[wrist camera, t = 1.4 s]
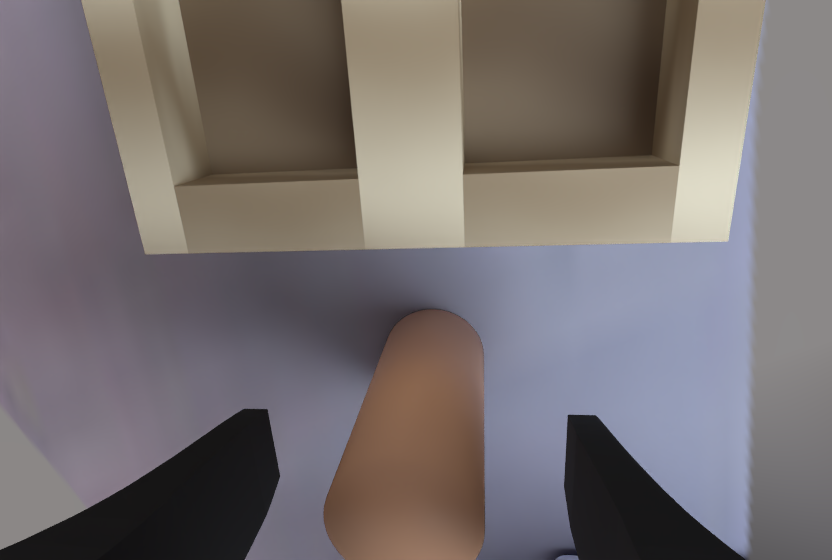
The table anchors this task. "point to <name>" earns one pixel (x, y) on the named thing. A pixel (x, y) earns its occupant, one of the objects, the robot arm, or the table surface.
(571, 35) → the bore block
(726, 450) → the table surface
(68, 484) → the table surface
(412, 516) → the dowel
